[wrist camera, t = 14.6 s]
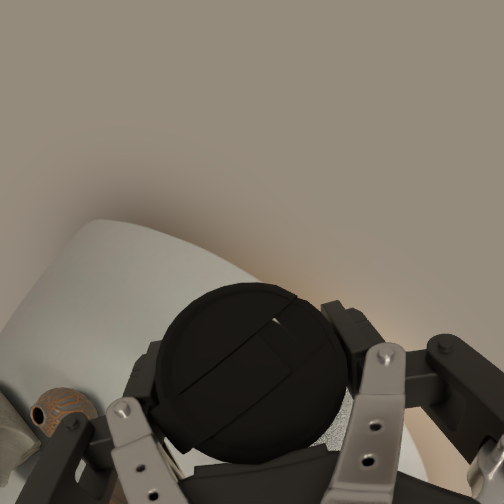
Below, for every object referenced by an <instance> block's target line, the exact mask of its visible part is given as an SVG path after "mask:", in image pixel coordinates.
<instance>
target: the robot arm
mask: <svg viewBox="0 0 504 504" xmlns="http://www.w3.org/2000/svg"><path fill="white" fill-rule="evenodd" d="M321 313H322V314H323V315H324V316H325V318H326V319H327V320H328V321H329V323H330V324H331V325H332V328H333V331H334V335H335V334H336V335H337V338H338V340H339V342H340V344H341V346H342V348H343V350H344V352H345V354H346V359H347V369H348V377H347V388H348V390H349V392H350V394H351V396H352V398H353V399H354V402H353V406H352V410H351V414H350V418H349V422H348V426H347V430H346V433H345V437H344V441H343V444H342V448H341V451H328V450H327V447H326V444H325V443H323V444H319V445H316V446H312V447H308V448H304V449H300V450H296V451H292V452H290V453H287V454H285V455H283V456H281V457H278V458H276V459H273V460H271V461H268V462H266V463H263V464H260V465H247V464H231V463H222V464H213V465H203V466H194V475H192V476H189V477H187V478H186V477H185V475H184V474H183V472H182V470H181V468H180V467H179V465H178V463H177V462H176V460H175V458H174V456H173V455H172V453H171V451H170V449H169V447H168V446H167V444H166V443H165V442H164V438H165V437H166V436H165V435H164V433H163V432H162V431H161V429H160V428H159V427H158V425H157V424H156V422H155V421H154V419H153V417H152V415H151V413H150V411H151V410H153V409H154V408H155V407H157V406H158V405H159V404H160V402H159V398H158V395H157V390H156V383H155V366H156V358H157V354H158V350H159V347H160V343H161V341H162V340H160V341H154V342H151V343H150V345H149V348H148V351H147V353H146V354H144V355H142V356H141V357H140V358H139V359H138V360H137V361H136V362H135V365H134V367H133V370H132V371H133V372H131V375H130V378H129V380H128V383H127V385H126V388H125V391H124V393H123V396H122V398H120V399H117V400H115V401H114V402H113V403H111V404H110V405H109V407H108V408H107V410H106V415H104V416H101V417H98V418H94V419H91V420H89V419H88V417H87V416H86V415H85V414H84V413H83V412H72V413H70V414H68V415H66V416H65V417H64V418H63V419H62V420H61V421H60V423H59V424H58V426H57V428H56V429H55V431H54V433H53V434H52V436H51V438H50V440H49V441H48V443H47V445H46V447H45V448H44V450H43V452H42V454H41V455H40V457H39V459H38V461H37V463H36V464H35V466H34V468H33V470H32V472H31V474H30V476H29V477H28V479H27V481H26V483H25V485H24V487H23V489H22V491H21V493H20V495H19V497H18V499H17V501H16V503H15V504H109V502H110V499H111V496H112V493H113V491H114V488H115V485H116V482H117V479H118V477H119V480H120V482H121V485H122V488H123V491H124V493H125V496H126V498H127V501H128V504H504V373H503V372H502V371H501V370H499V369H498V368H497V367H496V366H495V365H493V364H492V363H491V362H490V361H488V360H487V359H486V358H485V357H483V356H482V355H481V354H479V353H478V352H477V351H476V350H474V349H473V348H472V347H470V346H469V345H468V344H466V343H465V342H464V341H463V340H461V339H460V338H458V337H457V336H455V335H452V334H439V335H436V336H434V337H432V338H431V339H430V340H429V341H428V343H427V349H424V350H418V351H411V352H405V350H404V349H403V347H401V346H400V345H398V344H395V343H389V342H388V343H387V342H385V340H384V339H383V338H382V337H381V335H380V334H379V333H378V332H377V330H376V329H375V328H374V327H373V326H372V325H371V323H370V322H369V320H367V318H366V317H365V315H364V314H363V313H362V312H361V311H359V310H356V309H354V308H350V309H346V310H345V308H344V307H343V306H342V304H341V303H340V301H339V300H336V301H332V302H329V303H325V304H321ZM419 406H421V408H422V409H423V410H424V411H425V412H426V413H427V415H428V416H429V417H430V418H431V419H432V420H433V421H434V423H435V424H436V425H437V426H438V427H439V429H440V430H441V431H442V432H443V433H444V434H445V436H446V437H447V438H448V439H449V440H450V442H451V443H452V444H453V445H454V446H455V447H456V449H457V450H458V451H459V452H460V454H461V455H462V456H463V457H464V458H465V460H466V461H467V462H468V463H469V464H470V467H469V469H468V472H467V481H468V483H469V485H470V487H471V490H472V497H469V496H466V495H462V494H459V493H456V492H453V491H450V490H447V489H444V488H441V487H439V486H436V485H433V484H430V483H428V482H425V481H422V480H420V479H417V478H415V477H412V476H410V475H407V474H405V473H402V472H400V471H398V470H397V469H398V462H399V456H400V448H401V440H402V431H403V421H404V410H405V408H413V407H419ZM81 459H82V460H83V461H84V462H85V463H86V466H85V468H84V470H83V473H82V475H81V477H80V480H79V482H78V483H77V482H76V480H75V471H76V469H77V467H78V465H79V463H80V461H81Z"/></svg>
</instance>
